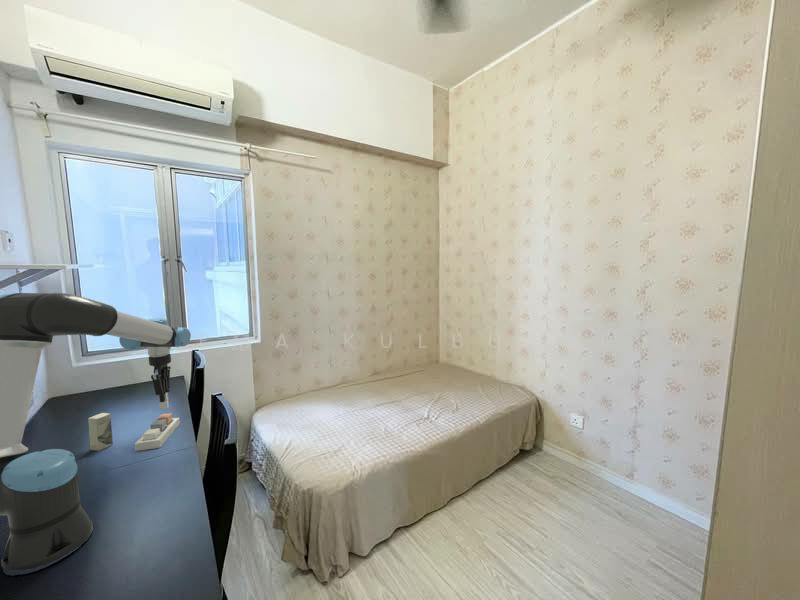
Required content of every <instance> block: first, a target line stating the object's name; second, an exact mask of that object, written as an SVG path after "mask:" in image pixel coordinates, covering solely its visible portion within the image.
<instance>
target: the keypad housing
mask: <svg viewBox="0 0 800 600" xmlns="http://www.w3.org/2000/svg"><path fill="white" fill-rule="evenodd" d="M180 423H181V421H180V417H172V421H171V422H170V423H169V424H167V427H166V428H165V429H164V430H163V431H160V436H159V437H158V438H157V439H152V440H145V441H144V438H143V435H142V436H141V437H140V438H139V439H137V441H136V442H135V443H134V448H135V452H139V451H144V450H151V449H158V448H161V447H162V446H163V445H164V444H165V442H167V440H168V439H169V438H170V436H171V435H172V434H173V433H174V432H175V430H176V429H177V428H178V427H179V426H180ZM149 429H151V427H150V428H149Z"/></svg>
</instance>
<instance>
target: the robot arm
mask: <svg viewBox="0 0 800 600" xmlns="http://www.w3.org/2000/svg"><path fill="white" fill-rule="evenodd" d="M80 335H83V336H84V335H85V336H92V337H102V336H105V335H107V336H112V337H117V338H119V345H120V346H121V347H122V348H123V349H124V350H127V351H128V350H129V351H133V350H137V349H141V348H147V355H148V356H149V357H148V364H149V366H150V367H153V374H151V376H150V379H151V381H152V385H153V388H154V392H155V396H158V400H159V402H158V403H159V410H164V409H168V408H170V407H169V406H170V405H169V394H168V393H170V392H171V389H170V388H171V387H170V386H171V383H170V382H171V381H170V380H171V366H170V365H169V366H168V364H170V363H171V362H172V354H171V348H173V347H174V348H175V347H176V348H178V347H186V346H187V345H188V344H189V343H190V341H191V331H190V329H189V328H188V327H180V326H179V327H174V326H171V325H169V323H168V320H167V318H164V317H163V318H149V319H146V318H142V317H139V316H135V315H133V314H128V313H125V312H122V311H118V310H117V309H116V308H115V307H114V306H113V305H110V304H107V303H104V302H101V301H98V300H97V301H96V300H94V299H90V298H88V297H87V298H86V297H83V296H79V295H75V294H69V293H64V292H53V293H50V292H49V293H47V292H43V293H42V292H25V293H24V292H14V293H7V294H0V516H7V519H8V526H9V536H8V539H7V542H6V544H5V548H4V551H3V554H2V556H1V568H2V567H3V568H5V569H8V570H26V569H32V568H36V567H38V566H41V565H45V564H47V563H50V562H52V561H54V560H57V559H59V558H61V557H62V556H64V555H66V554H68V553H69V552H70V551H73V550H74V549H76V548H77V547H79V546H80V545H82V544H83V543H84V542H85V541H86V540H87V539H88V538H89V536H90V535H91V533H92V534H93V532H94V527H93V521H92V519H91V518H90V516H89V515H88V514H87V512H86V511H85V510H84V509H85V508H83V506H82V505H81V498H80V496H81V495H80V486H79V485H80V484H79V471H78V464H77V462H76V458H75V455H74V454H73V452H71V451H69V450H66V449H62V448H51V449H50V448H49V449H44V450H42V451H38V450H37V451H33V452H30V453H29V447H27V446H25V445H24V444H23V443H22V441H23V437H24V432H25V428H26V424H27V419H28V416H29V415H28V414H29V410H30V409H29V408H30V405H31V401H32V396H33V391H34V388H35V387H34V386H35V382H36V377H37V373H38V370H39V364H40V361H41V355H42V352H43V350H44V349H46V348H47V347H49V346H51V345H52V342H53V338H54V337H56V336H80ZM92 531H93V532H92ZM91 536H92V535H91ZM89 539H90V538H89ZM89 539H88V540H89Z"/></svg>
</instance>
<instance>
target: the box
mask: <svg viewBox="0 0 800 600" xmlns="http://www.w3.org/2000/svg"><path fill="white" fill-rule="evenodd" d="M87 422H88V434H89V447H90V450H91V451H95V452H96V451H97V452H100V451H103V450H104V449H107V448H108V447H110V446H113V445H114V442H113V431H112V429H113V428H112V416H111V413H107V412H101V413H98V414H95V415H93V416H90V417H88V419H87Z"/></svg>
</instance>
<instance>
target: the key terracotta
mask: <svg viewBox="0 0 800 600" xmlns="http://www.w3.org/2000/svg"><path fill="white" fill-rule="evenodd" d="M172 418H173V413H172V412H171V413H170V412H169V413H162V414H159V416H158V417H156V420H164V419H166V425H167V424H169V423H170V422H171V421H172Z"/></svg>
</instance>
